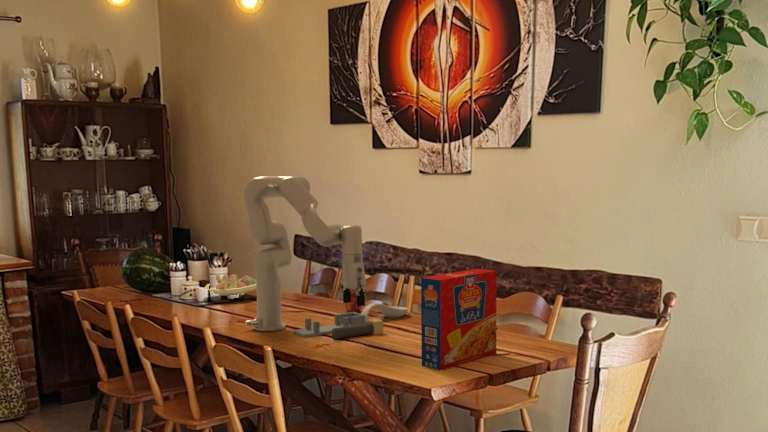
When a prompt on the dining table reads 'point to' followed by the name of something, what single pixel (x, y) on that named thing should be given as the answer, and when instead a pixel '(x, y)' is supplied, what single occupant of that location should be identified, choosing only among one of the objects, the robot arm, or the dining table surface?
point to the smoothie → (353, 303)
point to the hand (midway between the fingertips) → (353, 304)
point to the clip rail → (341, 321)
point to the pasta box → (458, 317)
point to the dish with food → (233, 285)
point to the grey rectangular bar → (359, 329)
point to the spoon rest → (385, 310)
